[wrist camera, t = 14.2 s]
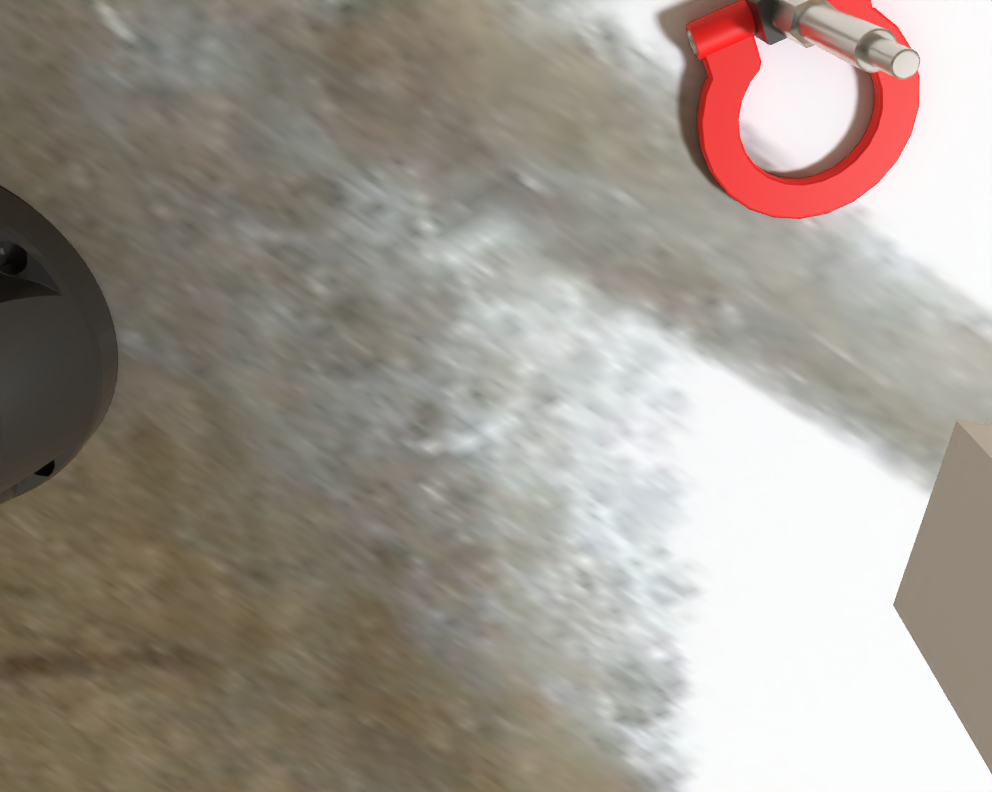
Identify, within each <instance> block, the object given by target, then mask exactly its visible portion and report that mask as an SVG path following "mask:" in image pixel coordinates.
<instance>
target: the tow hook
mask: <svg viewBox="0 0 992 792" xmlns="http://www.w3.org/2000/svg"><path fill="white" fill-rule="evenodd" d="M686 29H687V36H688V40H689V43H690V46H691V48H692V51H693V53H694V54H695V56H696V57H697V58H698V60H701V59H702V60H703V63H704V67H705V70H706V73H707V78H706V80H705V83H704V85H703V87H702V90H701V96H700V102H699V108H698V114H697V125H698V135H699V145H700V148H701V151H702V153H703V156H704V158H705V161H706V164H707V166H708V169H709V171H710V172H711V173H712V175H713V176H714V177H715V179H716V180H717V181H718V182H719V184H720V185H721V186H722V187H723V189H724V190H725V191H726V193H727V194H728V195H729V196H731V197H732V198H734V199H735V200H736V201H738V202H739V203H741V204H742V205H744V206H745V207H746V208H748V209H750V210H753V211H756V212H759V213H762V214H765V215H768V216H771V217H775V218H793V219H802V218H807V217H812V216H817V215H822V214H827V213H829V212H832V211H834V210H836V209H838V208H840V207H843V206H845V205H847V204H849V203H852V202H854V201H855V200H856V199H858V198H859V197H860V196H862V195H863V194H864V193H866V192H867V191H868V190H870V189H871V188H872V187H874V186H875V185H876V184H877V183H878V182H879V181H880V180H881V179H882V178H883V177H884V175H885V174H886V173H887V172H888V171H889V170H890V168H891V167H892V166H893V165H894V164H895V163H896V161H897V160H898V158H899V156H900V154H901V153H902V151H903V149H904V147H905V145H906V143H907V141H908V140H909V138H910V136H911V133H912V130H913V126H914V122H915V119H916V115H917V111H918V108H919V74H918V68H919V64H920V57H919V55H918V53H917V52H916V51H914V50H913V49H911V47H910V46H909V44H908V42H907V41H906V39H905V38H904V36H903V35H902V33H901V31H900V30H899V28H898V27H897V26H896V25H895V24H894V23H893V22H891V21H890V20H889V19H888V18H886V17H885V16H884V15H883V14H882V13H880V12H879V11H878V10H877V9H875V8H872V4H871V0H739V1H737V2H735V3H733V4H731V5H728V6H726V7H724V8H722V9H720V10H717V11H715V12H713V13H711V14H709V15H706V16H704V17H702V18H700V19H698V20H695V21H693V22H691V23H689V24H687V25H686ZM754 36H756V37H757V38H759V39H761V40H762V41H764V42H766V43H767V44H769V45H772V44H774V43H776V42H779V41H781V40H783V39H785V38H789V39H791V40H793V41H795V42H796V43H798V44H800V45H802V46H804V47H806V48H807V47H811V46H814V45H816V46H818V47H819V48H821V49H823V50H825V51H827V52H829V53H831V54H833V55H835V56H836V57H838V58H840V59H842V60H844V61H846V62H848V63H850V64H852V65H853V66H855V67H857V68H859V69H861V70H863V71H865V72H869V73H870V74H871V77H872V81H873V84H874V109H873V113H872V117H871V121H870V124H869V126H868V128H867V130H866V132H865V134H864V136H863V138H862V140H861V141H860V143H859V144H858V145H857V146H856V147H855V149H854V150H853V151H852V152H851V153H850V155H849V156H848V157H846V158H845V159H844V160H842V161H841V162H840V163H838V164H837V165H836V166H834V167H833V168H831V169H829V170H827V171H824V172H822V173H820V174H818V175H815V176H810V177H805V178H800V179H794V178H781V177H778V176H775V175H772V174H769V173H766V172H764V171H763V170H762V169H760V168H759V167H757V166H756V165H755V164H753V162H752V161H751V160H750V158H749V157H748V156H747V154H746V152H745V150H744V147H743V144H742V142H741V139H740V132H739V114H740V108H741V103H742V99H743V97H744V95H745V92H746V90H747V88H748V86H749V83H750V82H751V80H752V79H753V78H754V76H755V75H756V74H757V72H758V71H759V70H760V66H761V59H760V56H759V52H758V49H757V45H756V42H755V39H754Z"/></svg>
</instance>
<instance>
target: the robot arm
mask: <svg viewBox="0 0 992 792" xmlns="http://www.w3.org/2000/svg"><path fill="white" fill-rule="evenodd" d="M117 371H118V350H117V341H116V334H115V330H114V325H113V321H112V318H111V314H110V311H109V308H108V306H107V303H106V300H105V298H104V296H103V294H102V292H101V289H100V287H99V285H98V284H97V282H96V280H95V278H94V276H93V274H92V273H91V271H90V270H89V268H88V267H87V265H86V263H85V262H84V261H83V259H82V258H81V257H80V255H79V254H78V253H77V251H76V250H75V249H74V248H73V246H72V245H71V244H70V243H69V242H68V240H67V239H66V238H65V237H64V236H63V235H62V234H61V233H60V232H59V231H58V230H57V229H56V228H55V227H54V226H53V225H52V224H51V223H50V222H49V221H48V220H46V219H45V218H44V217H43V216H42V215H40V214H39V213H38V212H37V211H36V210H34V209H33V208H32V207H30V206H29V205H28V204H26V203H25V202H23V201H22V200H20V199H19V198H17V197H16V196H14V195H13V194H11V193H10V192H8V191H6V190H4V189H2V188H1V187H0V504H2V503H4V502H6V501H8V500H10V499H12V498H14V497H17V496H19V495H22V494H24V493H26V492H28V491H30V490H32V489H34V488H36V487H38V486H39V485H41V484H43V483H44V482H46V481H48V480H49V479H50V478H52V477H53V476H55V475H56V474H57V473H58V472H60V471H61V470H62V469H63V468H64V467H65V466H66V465H68V464H69V462H70V461H71V460H72V459H73V458H74V457H75V456H76V455H77V454H78V452H79V451H80V450H81V449H82V447H83V446H84V445H85V443H86V442H87V441H88V440H89V438H90V437H91V436H92V435H93V433H94V432H95V431H96V430H97V428H98V427H99V425H100V424H101V422H102V420H103V418H104V416H105V415H106V413H107V411H108V408H109V406H110V403H111V400H112V397H113V394H114V390H115V385H116V380H117ZM893 606H894V607H895V609H896V611H897V612H898V614H899V616H900V618H901V619H902V621H903V623H904V624H905V626H906V628H907V629H908V631H909V633H910V635H911V636H912V638H913V640H914V641H915V643H916V645H917V647H918V648H919V650H920V652H921V653H922V655H923V657H924V659H925V660H926V662H927V664H928V665H929V667H930V669H931V671H932V672H933V674H934V676H935V677H936V679H937V681H938V683H939V684H940V686H941V688H942V689H943V691H944V693H945V695H946V696H947V698H948V700H949V701H950V703H951V705H952V707H953V708H954V710H955V712H956V713H957V715H958V717H959V719H960V720H961V722H962V724H963V725H964V727H965V729H966V731H967V732H968V734H969V736H970V737H971V739H972V741H973V743H974V744H975V746H976V748H977V749H978V751H979V753H980V755H981V756H982V758H983V760H984V761H985V763H986V765H987V767H988V768H989V770H990V772H991V773H992V424H991V423H979V422H967V421H956V424H955V427H954V430H953V433H952V436H951V439H950V442H949V444H948V447H947V450H946V453H945V456H944V459H943V462H942V465H941V468H940V471H939V473H938V476H937V479H936V482H935V485H934V488H933V491H932V494H931V497H930V500H929V503H928V505H927V508H926V511H925V514H924V517H923V520H922V523H921V526H920V529H919V532H918V534H917V537H916V540H915V543H914V546H913V549H912V552H911V555H910V558H909V561H908V563H907V566H906V569H905V572H904V575H903V578H902V581H901V584H900V587H899V590H898V593H897V595H896V598H895V601H894V604H893Z"/></svg>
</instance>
